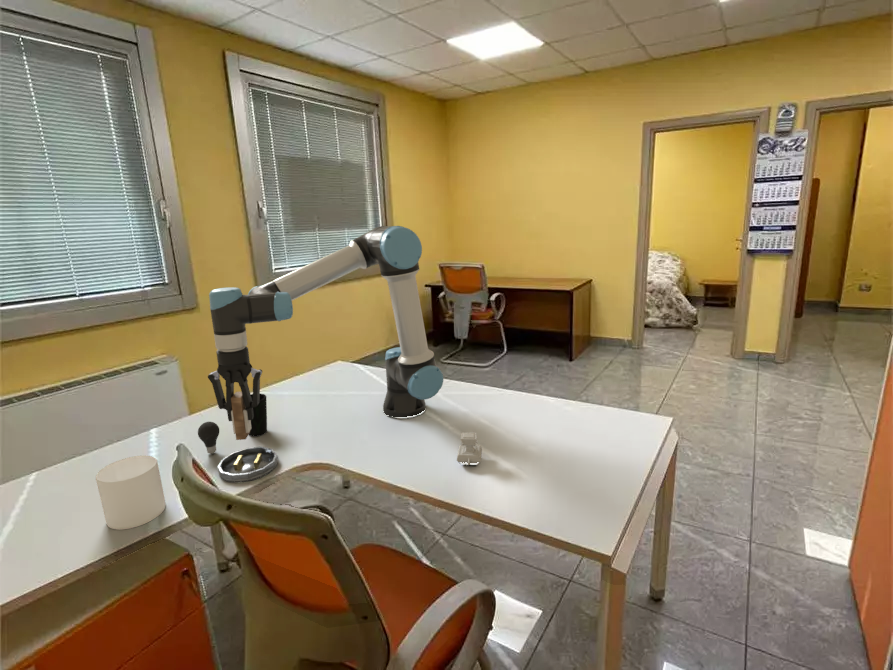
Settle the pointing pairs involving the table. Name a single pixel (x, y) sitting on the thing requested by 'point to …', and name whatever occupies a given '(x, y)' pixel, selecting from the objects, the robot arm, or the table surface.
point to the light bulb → (209, 435)
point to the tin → (247, 464)
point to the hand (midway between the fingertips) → (242, 430)
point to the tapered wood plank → (239, 415)
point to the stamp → (469, 449)
